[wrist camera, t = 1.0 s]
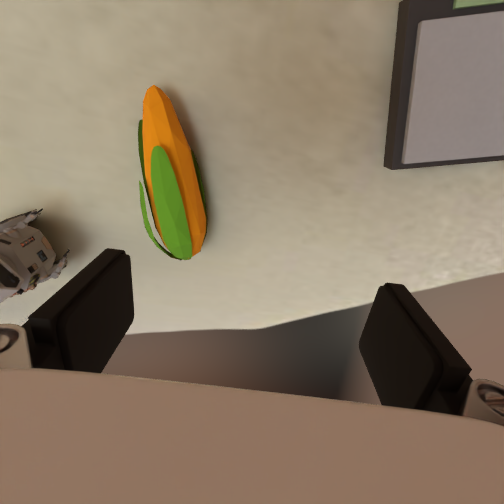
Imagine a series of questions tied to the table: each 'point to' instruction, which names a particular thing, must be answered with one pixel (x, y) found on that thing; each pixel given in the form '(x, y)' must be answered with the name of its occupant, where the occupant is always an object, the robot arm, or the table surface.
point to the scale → (447, 84)
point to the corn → (170, 179)
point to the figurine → (25, 256)
